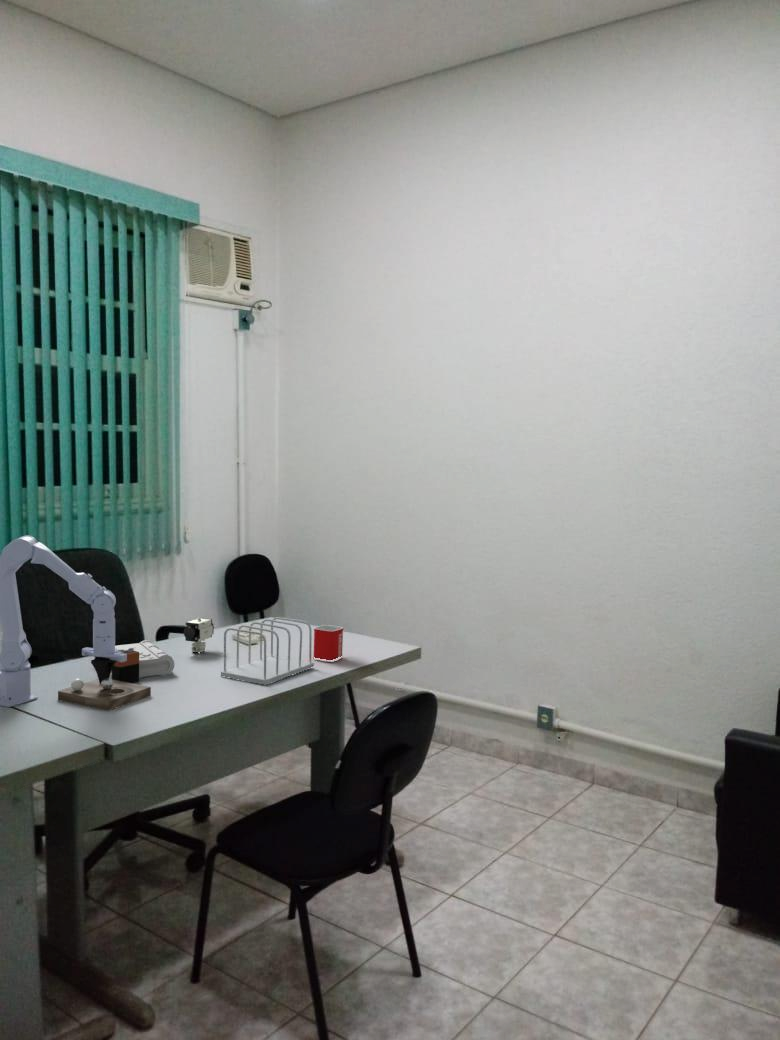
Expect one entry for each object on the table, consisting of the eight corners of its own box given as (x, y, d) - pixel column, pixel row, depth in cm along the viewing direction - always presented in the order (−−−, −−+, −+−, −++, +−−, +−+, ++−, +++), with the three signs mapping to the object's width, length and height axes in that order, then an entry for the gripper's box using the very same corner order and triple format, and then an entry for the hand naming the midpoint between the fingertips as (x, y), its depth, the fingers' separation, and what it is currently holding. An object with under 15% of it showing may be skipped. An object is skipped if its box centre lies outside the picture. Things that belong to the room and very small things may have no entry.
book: (149, 655, 277) (149, 633, 276) (175, 675, 253) (175, 651, 253) (89, 662, 267) (89, 639, 266) (110, 684, 243) (110, 658, 243)
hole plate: (107, 710, 216) (107, 701, 216) (57, 700, 224) (58, 690, 224) (150, 695, 231) (150, 687, 230) (102, 686, 238) (102, 677, 238)
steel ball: (104, 678, 225) (96, 681, 226) (108, 689, 225) (101, 692, 226) (113, 674, 228) (105, 678, 229) (117, 685, 227) (110, 689, 229)
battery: (110, 684, 241) (111, 650, 240) (130, 679, 247) (131, 646, 246) (120, 686, 239) (120, 652, 238) (139, 682, 244) (140, 648, 243)
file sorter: (271, 661, 274) (272, 614, 273) (314, 669, 266) (315, 621, 264) (220, 677, 253) (221, 626, 251) (265, 686, 244) (266, 634, 243)
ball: (77, 692, 223) (77, 681, 222) (68, 691, 224) (68, 679, 224) (86, 690, 226) (86, 678, 225) (77, 688, 227) (77, 676, 227)
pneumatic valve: (182, 655, 277) (183, 619, 276) (202, 648, 288) (202, 614, 287) (196, 657, 275) (197, 621, 275) (216, 649, 286) (216, 615, 286)
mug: (332, 663, 273) (332, 631, 272) (310, 660, 277) (311, 628, 276) (350, 656, 284) (351, 625, 283) (329, 652, 287) (330, 622, 286)
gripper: (134, 635, 227) (134, 684, 228) (95, 629, 233) (95, 677, 234) (116, 640, 221) (116, 690, 222) (75, 634, 227) (76, 683, 228)
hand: (104, 684), depth 228 cm, fingers closed, pressing on steel ball
